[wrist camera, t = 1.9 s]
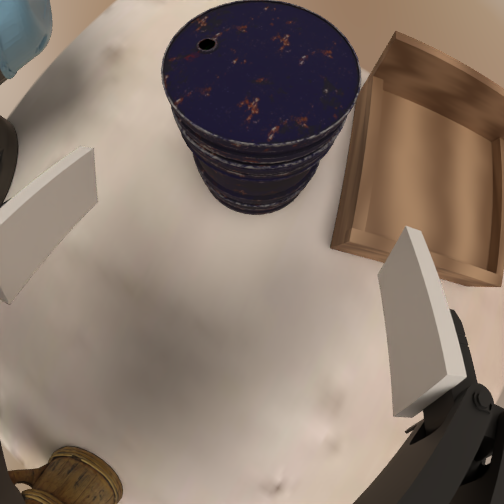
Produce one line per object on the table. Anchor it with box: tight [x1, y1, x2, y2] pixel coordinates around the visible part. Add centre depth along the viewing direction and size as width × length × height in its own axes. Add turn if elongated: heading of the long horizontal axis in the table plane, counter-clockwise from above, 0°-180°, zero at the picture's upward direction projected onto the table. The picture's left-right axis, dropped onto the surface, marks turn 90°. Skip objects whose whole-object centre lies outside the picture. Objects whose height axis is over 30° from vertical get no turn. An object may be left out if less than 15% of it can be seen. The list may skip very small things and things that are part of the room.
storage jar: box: [161, 0, 361, 215], centre depth 20 cm, size 10×10×15 cm
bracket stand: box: [330, 31, 504, 287], centre depth 22 cm, size 16×16×11 cm
